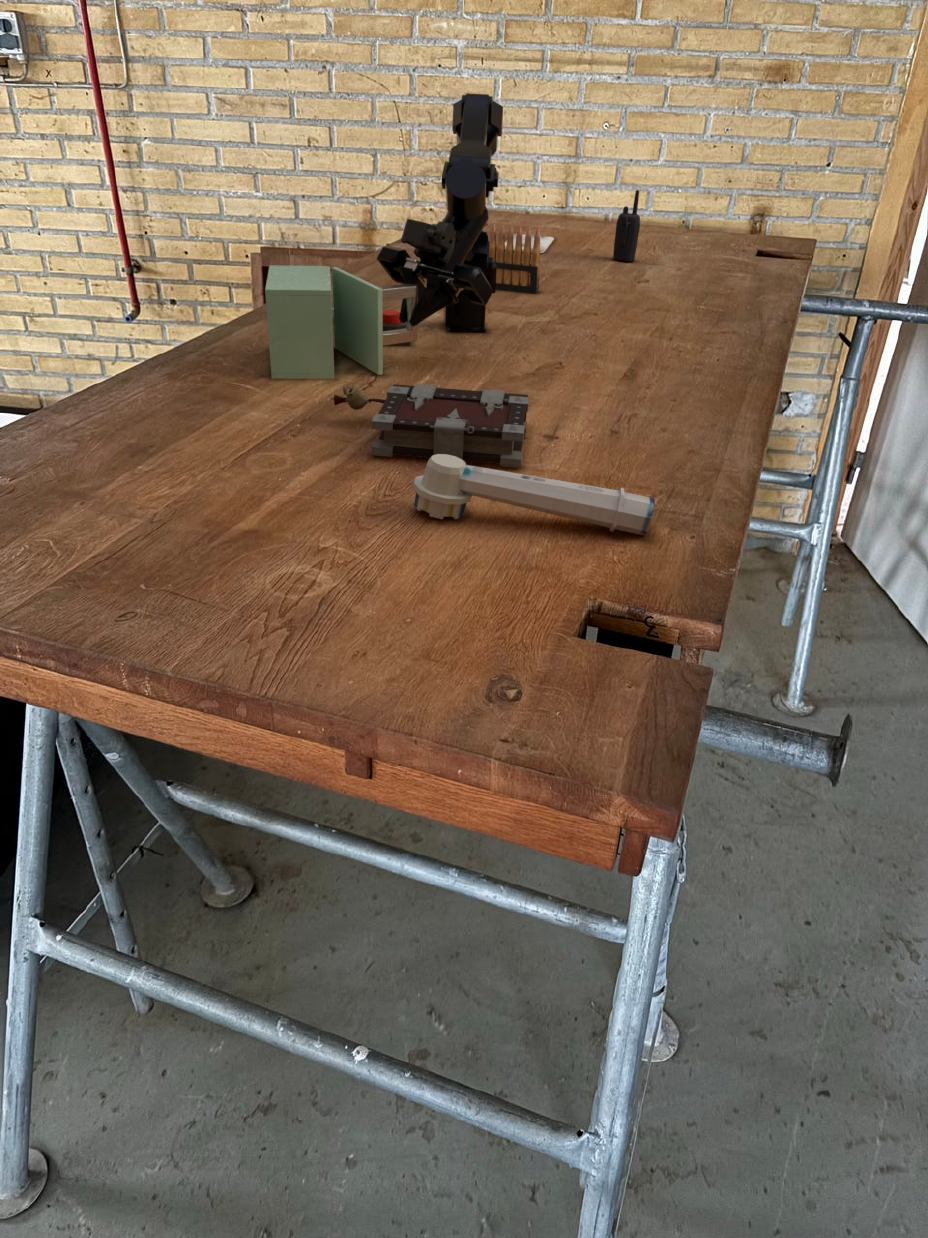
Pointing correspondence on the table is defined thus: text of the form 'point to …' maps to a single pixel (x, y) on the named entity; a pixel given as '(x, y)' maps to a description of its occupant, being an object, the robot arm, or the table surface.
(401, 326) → the button block
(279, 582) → the table surface
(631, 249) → the two-way radio
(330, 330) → the cabinet
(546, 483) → the toothbrush head
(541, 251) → the tile
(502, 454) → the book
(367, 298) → the cabinet door
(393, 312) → the release button
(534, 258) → the ammunition clip
